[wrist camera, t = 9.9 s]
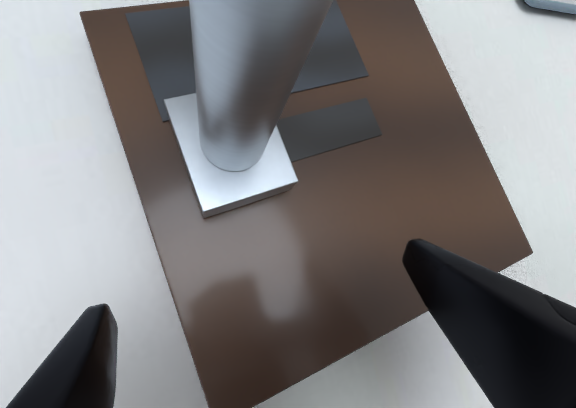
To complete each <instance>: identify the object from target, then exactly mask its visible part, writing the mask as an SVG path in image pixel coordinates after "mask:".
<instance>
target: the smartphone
mask: <svg viewBox="0 0 576 408" xmlns="http://www.w3.org/2000/svg"><path fill="white" fill-rule="evenodd" d="M524 1H525V2H526V3H527V4H528V5H529V6H531V7H535V8H541V9H547V10H553V11H559V12H565V13H571V14H576V0H524Z"/></svg>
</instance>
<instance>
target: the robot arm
mask: <svg viewBox="0 0 576 408" xmlns="http://www.w3.org/2000/svg"><path fill="white" fill-rule="evenodd" d="M402 263H403V266H404V267H405V269H406V271H407V273H408V275H409V277H410V278H411V280H412V282H413V284H414V286H415V288H416V290H417V291H418V293H419V295H420V297H421V299H422V300H423V302H424V304H425V306H426V307H427V309H428V310H429V312H430V313H431V315H432V316H433V318H434V319H435V321H436V322H437V324H438V325H439V327H440V328H441V330H442V331H443V333H444V334H445V336H446V337H447V338H448V340H449V341H450V343H451V344H452V346H453V347H454V349H455V350H456V352H457V353H458V355H459V356H460V358H461V359H462V361H463V362H464V364H465V365H466V367H467V368H468V370H469V371H470V373H471V374H472V376H473V377H474V379H475V380H476V382H477V383H478V384H479V386H480V387H481V389H482V390H483V392H484V393H485V395H486V396H487V398H488V399H489V401H490V402H491V404H492V405H493V407H494V408H576V308H575V307H573V306H571V305H568V304H566V303H564V302H561V301H559V300H557V299H555V298H552V297H550V296H548V295H546V294H542V293H541V292H539V291H537V290H535V289H532V288H530V287H528V286H526V285H524V284H521V283H519V282H517V281H515V280H512V279H510V278H508V277H506V276H504V275H501V274H499V273H497V272H495V271H492V270H490V269H488V268H486V267H484V266H481V265H479V264H477V263H475V262H472V261H470V260H468V259H466V258H464V257H461V256H459V255H457V254H455V253H452V252H450V251H448V250H446V249H444V248H441V247H439V246H437V245H435V244H432V243H430V242H428V241H426V240H424V239H421V238H418V239H413V240H409V241H408V242H407V245H406V248H405V251H404V254H403V257H402ZM117 338H118V328H117V323H116V321H115V318H114V316H113V314H112V312H111V310H110V307H109V306H108V305H107V304H99V305H95V306H90V307H88V308H87V309H86V310H85V311H84V312H83V314H82V315H81V316H80V317H79V319H78V320H77V321H76V322H75V323H74V325H73V326H72V327H71V328H70V330H69V331H68V332H67V333H66V334H65V336H64V337H63V338H62V339H61V341H60V342H59V343H58V344H57V346H56V347H55V348H54V349H53V350H52V352H51V353H50V354H49V355H48V357H47V358H46V359H45V360H44V361H43V363H42V364H41V365H40V366H39V368H38V369H37V370H36V371H35V373H34V374H33V375H32V376H31V377H30V379H29V380H28V381H27V382H26V384H25V385H24V386H23V387H22V388H21V390H20V391H19V392H18V393H17V395H16V396H15V397H14V398H13V400H12V401H11V402H10V403H9V404H8V406H7V407H6V408H113V405H114V398H115V388H116V365H117Z"/></svg>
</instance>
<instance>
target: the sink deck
mask: <svg viewBox="0 0 576 408" xmlns="http://www.w3.org/2000/svg"><path fill="white" fill-rule="evenodd" d="M80 17H81V20H82V23H83V26H84V29H85V32H86V35H87V38H88V41H89V44H90V47H91V50H92V53H93V56H94V59H95V62H96V65H97V68H98V72H99V75H100V78H101V81H102V84H103V87H104V90H105V93H106V96H107V99H108V102H109V105H110V108H111V111H112V114H113V117H114V120H115V123H116V126H117V129H118V133H119V136H120V139H121V142H122V145H123V148H124V151H125V154H126V157H127V160H128V163H129V166H130V169H131V172H132V175H133V178H134V181H135V184H136V187H137V190H138V194H139V197H140V200H141V203H142V206H143V209H144V212H145V215H146V218H147V221H148V224H149V227H150V230H151V233H152V236H153V239H154V242H155V245H156V248H157V251H158V255H159V258H160V261H161V264H162V267H163V270H164V273H165V276H166V279H167V282H168V285H169V288H170V291H171V294H172V297H173V300H174V303H175V306H176V309H177V312H178V316H179V319H180V322H181V325H182V328H183V331H184V334H185V337H186V340H187V343H188V346H189V349H190V352H191V355H192V358H193V361H194V364H195V367H196V370H197V373H198V376H199V380H200V383H201V386H202V389H203V392H204V395H205V398H206V401H207V404H208V407H209V408H252V407H254V406H256V405H258V404H260V403H261V402H263V401H265V400H267V399H269V398H270V397H272V396H274V395H276V394H278V393H280V392H281V391H283V390H285V389H287V388H289V387H290V386H292V385H294V384H296V383H298V382H300V381H301V380H303V379H305V378H307V377H309V376H310V375H312V374H314V373H316V372H318V371H320V370H321V369H323V368H325V367H327V366H329V365H330V364H332V363H334V362H336V361H338V360H340V359H341V358H343V357H345V356H347V355H349V354H350V353H352V352H354V351H356V350H358V349H360V348H361V347H363V346H365V345H367V344H369V343H370V342H372V341H374V340H376V339H378V338H380V337H381V336H383V335H385V334H387V333H389V332H391V331H392V330H394V329H396V328H398V327H400V326H401V325H403V324H405V323H407V322H409V321H411V320H412V319H414V318H416V317H418V316H420V315H421V314H423V313H425V312H427V311H429V310H428V309H427V307H426V306H425V304H424V302H423V300H422V299H421V297H420V295H419V293H418V291H417V290H416V288H415V286H414V284H413V282H412V280H411V278H410V277H409V275H408V273H407V271H406V269H405V267H404V266H403V263H402V257H403V254H404V251H405V248H406V245H407V242H408V241H409V240H413V239H418V238H421V239H424V240H426V241H428V242H430V243H432V244H435V245H437V246H439V247H441V248H444V249H446V250H448V251H450V252H452V253H455V254H457V255H459V256H461V257H464V258H466V259H468V260H470V261H472V262H475V263H477V264H479V265H481V266H484V267H486V268H488V269H490V270H492V271H495V272H497V273H498V272H500V271H502V270H503V269H505V268H507V267H509V266H511V265H512V264H514V263H516V262H518V261H520V260H522V259H523V258H525V257H527V256H529V255H531V254H532V253H533V251H532V249H531V247H530V245H529V242H528V240H527V238H526V236H525V234H524V232H523V230H522V228H521V225H520V223H519V221H518V219H517V217H516V215H515V213H514V211H513V209H512V206H511V204H510V202H509V200H508V198H507V196H506V194H505V192H504V189H503V187H502V185H501V183H500V181H499V179H498V177H497V175H496V173H495V170H494V168H493V166H492V164H491V162H490V160H489V158H488V156H487V153H486V151H485V149H484V147H483V145H482V143H481V141H480V139H479V137H478V134H477V132H476V130H475V128H474V126H473V124H472V122H471V120H470V118H469V115H468V113H467V111H466V109H465V107H464V105H463V103H462V101H461V98H460V96H459V94H458V92H457V90H456V88H455V86H454V84H453V82H452V79H451V77H450V75H449V73H448V71H447V69H446V67H445V65H444V62H443V60H442V58H441V56H440V54H439V52H438V50H437V48H436V46H435V43H434V41H433V39H432V37H431V35H430V33H429V31H428V29H427V26H426V24H425V22H424V20H423V18H422V16H421V14H420V12H419V10H418V7H417V5H416V3H415V1H414V0H333V2H332V4H331V6H330V8H329V10H328V12H327V15H326V17H325V19H324V21H323V23H322V26H321V28H320V30H319V32H318V34H317V36H316V39H315V41H314V43H313V45H312V47H311V50H310V52H309V54H308V56H307V58H306V61H305V63H304V65H303V67H302V69H301V71H300V74H299V76H298V78H297V80H296V82H295V85H294V87H293V89H292V91H291V93H290V95H289V98H288V100H287V102H286V104H285V106H284V109H283V111H282V113H281V115H280V117H279V119H278V122H277V124H276V125H277V128H278V130H279V133H280V135H281V138H282V140H283V143H284V145H285V148H286V151H287V153H288V156H289V158H290V161H291V163H292V166H293V168H294V171H295V174H296V176H297V179H298V182H297V183H296V184H295V185H294V186H293V187H292V188H291V189H290V190H289V191H286V192H283V193H280V194H277V195H274V196H271V197H268V198H264V199H261V200H258V201H255V202H252V203H249V204H246V205H243V206H240V207H237V208H234V209H231V210H228V211H225V212H222V213H219V214H216V215H213V216H210V217H207V218H203V215H202V212H201V210H200V207H199V204H198V201H197V198H196V195H195V192H194V190H193V187H192V184H191V181H190V178H189V175H188V172H187V170H186V167H185V164H184V161H183V158H182V155H181V152H180V150H179V147H178V144H177V141H176V138H175V135H174V132H173V130H172V127H171V124H170V121H169V118H168V115H167V111H166V107H165V104H164V99H169V98H174V97H179V96H184V95H188V94H193V93H196V84H195V70H194V57H193V44H192V31H191V18H190V4H189V0H185V1H176V2H166V3H157V4H148V5H139V6H129V7H120V8H111V9H101V10H92V11H83V12H80Z"/></svg>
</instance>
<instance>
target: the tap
mask: <svg viewBox="0 0 576 408" xmlns="http://www.w3.org/2000/svg"><path fill="white" fill-rule="evenodd" d="M332 2H333V0H189V4H190V18H191V31H192V44H193V57H194V70H195V84H196V93H193V94H188V95H184V96H179V97H174V98H169V99H164V104H165V107H166V111H167V115H168V118H169V121H170V124H171V127H172V130H173V132H174V135H175V138H176V141H177V144H178V147H179V150H180V152H181V155H182V158H183V161H184V164H185V167H186V170H187V172H188V175H189V178H190V181H191V184H192V187H193V190H194V192H195V195H196V198H197V201H198V204H199V207H200V210H201V212H202V215H203V218H207V217H210V216H213V215H216V214H219V213H222V212H225V211H228V210H231V209H234V208H237V207H240V206H243V205H246V204H249V203H252V202H255V201H258V200H261V199H264V198H268V197H271V196H274V195H277V194H280V193H283V192H286V191H289V190H290V189H291V188H292V187H293V186H294V185H295V184H296V183H297V182H298V179H297V176H296V174H295V171H294V168H293V166H292V163H291V161H290V158H289V156H288V153H287V151H286V148H285V145H284V143H283V140H282V138H281V135H280V133H279V130H278V128H277V125H276V124H277V122H278V119H279V117H280V115H281V113H282V111H283V109H284V106H285V104H286V102H287V100H288V98H289V95H290V93H291V91H292V89H293V87H294V85H295V82H296V80H297V78H298V76H299V74H300V71H301V69H302V67H303V65H304V63H305V61H306V58H307V56H308V54H309V52H310V50H311V47H312V45H313V43H314V41H315V39H316V36H317V34H318V32H319V30H320V28H321V26H322V23H323V21H324V19H325V17H326V15H327V12H328V10H329V8H330V6H331V4H332Z"/></svg>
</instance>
